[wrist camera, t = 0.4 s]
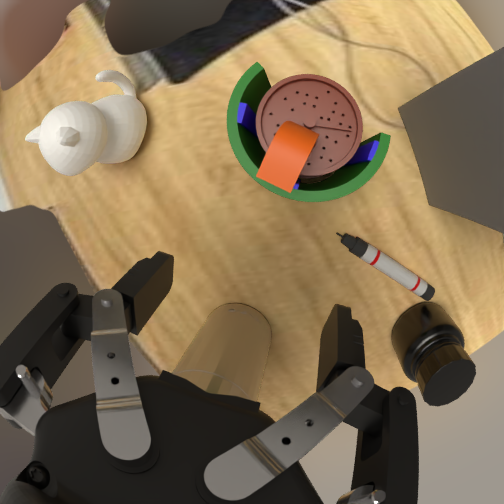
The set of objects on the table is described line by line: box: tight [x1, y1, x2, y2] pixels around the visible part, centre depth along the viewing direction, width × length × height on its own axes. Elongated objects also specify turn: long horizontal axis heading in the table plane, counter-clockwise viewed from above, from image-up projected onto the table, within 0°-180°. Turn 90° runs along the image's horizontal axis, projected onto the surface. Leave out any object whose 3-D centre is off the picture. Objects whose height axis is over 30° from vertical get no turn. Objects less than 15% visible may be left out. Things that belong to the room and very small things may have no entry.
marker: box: [336, 233, 435, 301], centre depth 32 cm, size 15×2×2 cm, turn 62°
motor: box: [227, 62, 391, 202], centre depth 21 cm, size 10×9×20 cm
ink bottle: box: [392, 302, 476, 406], centre depth 29 cm, size 10×9×12 cm
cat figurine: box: [25, 70, 147, 176], centre depth 26 cm, size 9×12×15 cm
